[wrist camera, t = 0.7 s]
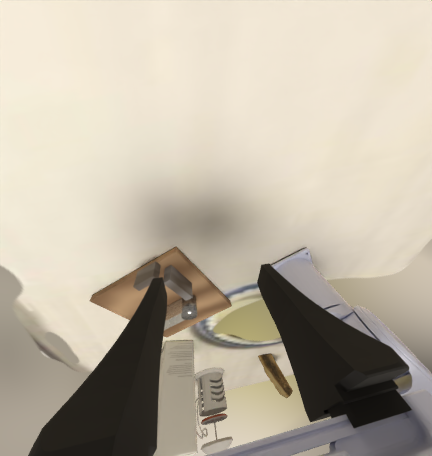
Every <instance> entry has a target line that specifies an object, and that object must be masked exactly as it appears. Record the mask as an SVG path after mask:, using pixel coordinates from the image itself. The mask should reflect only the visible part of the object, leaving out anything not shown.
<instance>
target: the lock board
mask: <svg viewBox="0 0 432 456" xmlns="http://www.w3.org/2000/svg"><path fill="white" fill-rule="evenodd" d="M160 277H163V280H164V284H165V288H166V292H167V306H168V305H170V304H172V303H174V302H176V301H178V300H180V299H182V298H183V299H184V300H186V301H187V300H189V299H191V298H193V295H194V296H196V302H197V317H196V318H194V319H192V320H184V321H182V322H180V323H178V324H176V325H174V326H172V327H170V328H168V329H166V330H164V334H163V336H164V337H169V336H171V335H173V334H175V333H177V332H179V331H181V330H183V329H185V328H187V327H190V326H192V325H194V324H196V323H198V322H200V321H202V320H204V319H206V318H208V317H210V316H212V315H214V314H216V313H218V312H220V311H223V310H225V309H227V308H229V307H231V306H232V305H231V302H230V300H229V299H228V298H227V297H226V296H225V295H224V294H223V293H222V292H221V291H220V290H219V289H218V288H217V287H216V286H215V285H214V284H213V283H212V282H211V281H210V280H209V279H208V278H207V277H206V276H205V275H204V274H203V273H202V272H201V271H200V270H199V269H198V268H197V267H196V266H195V265H194V264H193V263H192V262H191V261H190V260H189V259H188V258H187V257H186V256H185V255H184V254H183V253H182V252H181V251H180V250H179V249H178V248H177V247H175V248H173V249H172V250H170V251H168V252H166V253H165V254H163V255H161V256H159V257H158V258H156V259H154V260H152V261H151V262H149V263H147V264H146V265H144V266H142V267H140V268H139V269H137V270H135V271H133V272H132V273H130V274H128V275H126V276H125V277H123V278H121V279H119V280H118V281H116V282H114V283H113V284H111V285H109V286H107V287H106V288H104V289H102V290H100V291H99V292H97V293H95V294H93V295H92V297H91V299H90V301H91V302H93V303H95V304H97V305H99V306H101V307H103V308H105V309H107V310H110V311H112V312H114V313H116V314H118V315H120V316H122V317H124V318H126V319H129V320H131V318H132V316H133V315H134V313H135V312H136V310H137V308H138V306H139V305H140V303H141V301H142V299H143V297H144V295H145V293H146V292H147V290H148V287H149V285H150V283H151V281H152V279H153V278H160Z"/></svg>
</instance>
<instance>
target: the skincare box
mask: <svg viewBox="0 0 432 456" xmlns="http://www.w3.org/2000/svg"><path fill="white" fill-rule="evenodd" d="M196 453H197V431H196V404H195V377H194V350H193V340H186V341H166V343H165V346H164V348H163V351H162V354H161V359H160V376H159V397H158V427H157V449H156V451H155V453H154V455H153V456H193V455H195V454H196Z"/></svg>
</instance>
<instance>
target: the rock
mask: <svg viewBox="0 0 432 456" xmlns="http://www.w3.org/2000/svg"><path fill="white" fill-rule="evenodd" d="M258 357H259V359H260V361H261V363H262V365H263V367H264V370H265V373H266V374H267V376H268V377H269V378H270V380H271V382H273V384H274V385H275V388H276V389H277V390H278V392H279V393H280V394H281V395H282V396H284V397H285V398H288V397H289V396H290V395H291V394H292V389H291V387H290V386H289V384H288V382H287V380H286V379H285V377H284V375H283V374H282V372H281V370H280V369H279V367H278V365H277V363H276V362H275V360H274V358H273V356H272V355H271V354H265V355H261V356H258Z"/></svg>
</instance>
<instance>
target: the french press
mask: <svg viewBox="0 0 432 456" xmlns="http://www.w3.org/2000/svg"><path fill="white" fill-rule="evenodd" d="M223 372H224V369H222V368H211V369H206V370H203V371H201V372H199V373H197V374H196V375H195V376H194V377H195V379H196V380H197V381H198V398H197V400H198V399H199V401H198V405H199V414H200V416H210V415H213V416H210V417H207V418H205V419H204V420H202V422H201V424H202V425H204V424H208V423H213V422H214V424H215V423H216V421H218V422H219V421H222V419H223V420H224V419H226V418H227V415H226V414H217V413H220V412H222V411H224V410H226V409H227V404H226V397H224V395H225V391H223V390H224V385H223V379H222V375H223ZM210 385H212V386H210ZM202 389H203V392H201V390H202ZM211 391H213V392H211ZM201 395H202V396H201ZM202 397H203V398H202ZM197 400H196V401H197ZM212 400H216V402H215V401H212ZM196 401H195V403H196ZM202 401H203V402H204V403H203V404H202ZM202 407H204V410H203V411H202ZM214 414H217V415H215V416H214ZM197 420H198V406H197ZM198 424H199V421H198ZM199 427H200V425H199ZM200 430H201V428H200ZM203 430H206V434H207V429H206V428H204V429H203ZM203 430H201V432H202V437H201V436H199V434H198V433H197V435H198V436H199V437H200V438H201V439H202V438H203V435H204V436H205V437H207V435H208V434H207V435H205V434H204V433H203ZM215 432H216V426H215ZM215 434H216V433H215ZM232 440H233V439H232V437H226V438H222V439H218V440H217V435H216V440H215V441H212V442H209V443H206V444H204V445H203V446H202V448H201V450H202V451H203V452H204V453H206V454H207V455H209V454H213V453H216V452H219V451H223V450H226V449H227V448H228V447H229V446H230V444H231V442H232Z"/></svg>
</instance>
